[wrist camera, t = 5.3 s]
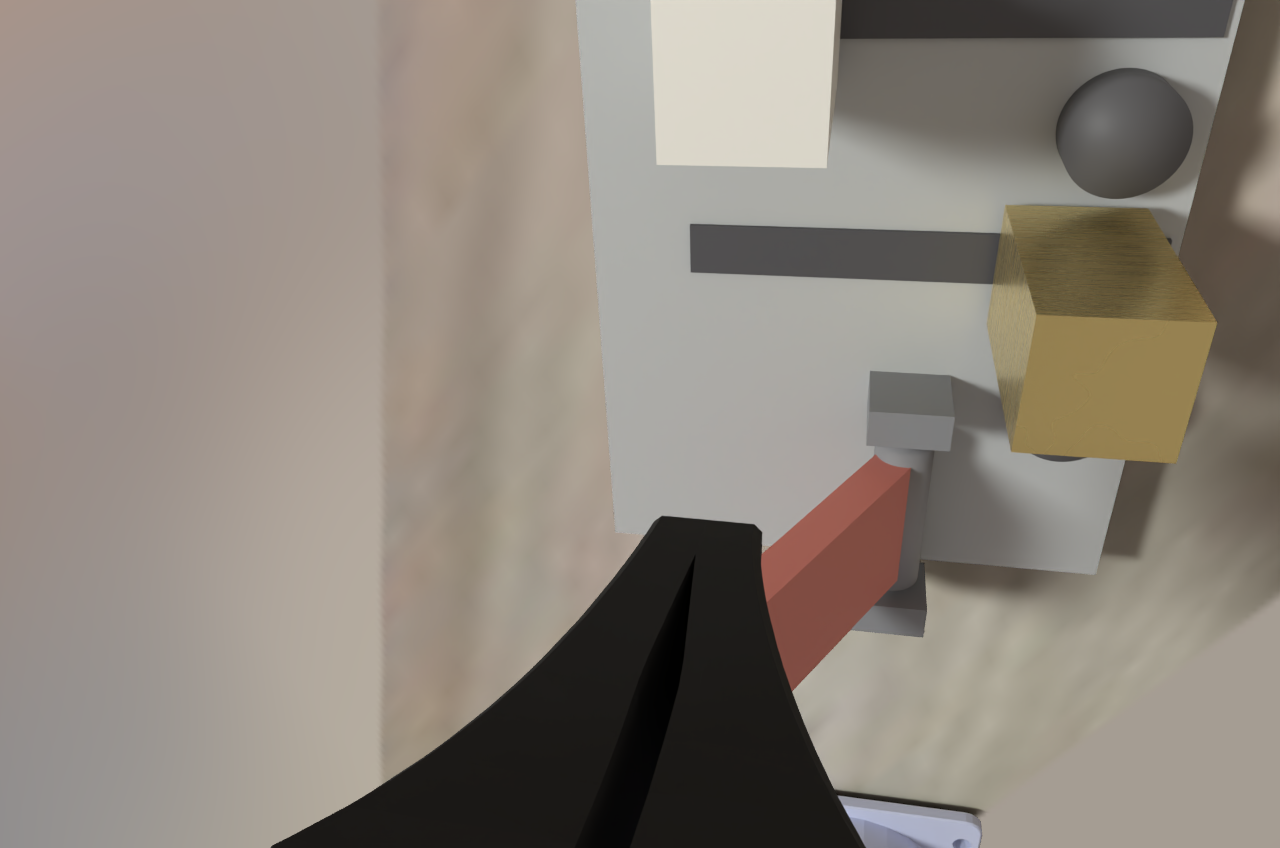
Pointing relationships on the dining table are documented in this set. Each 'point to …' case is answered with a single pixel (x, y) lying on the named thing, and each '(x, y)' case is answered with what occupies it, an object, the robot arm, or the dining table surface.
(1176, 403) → the brass slider
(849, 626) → the red paddle
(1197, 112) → the panel
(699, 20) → the white slider
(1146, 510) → the dining table surface
